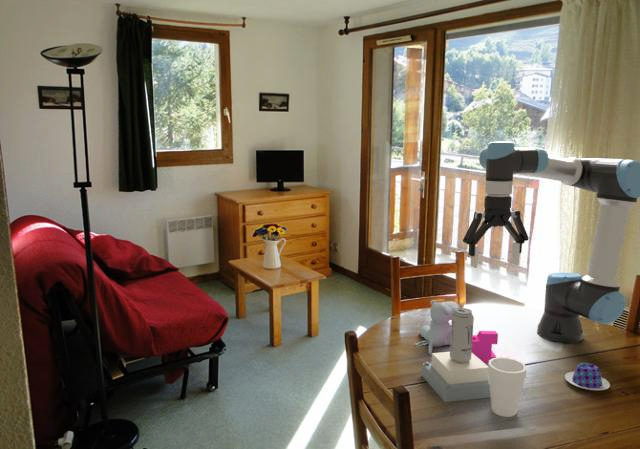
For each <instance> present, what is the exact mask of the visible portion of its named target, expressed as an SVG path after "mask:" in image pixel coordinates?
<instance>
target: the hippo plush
mask: <svg viewBox="0 0 640 449" xmlns="http://www.w3.org/2000/svg"><path fill="white" fill-rule="evenodd" d="M429 304H430V305H431V307H430V308H429V309H430V310H429V314H430V318H431V320H430V323H429V324H427V325H426V324H424V325H422V326H421V328H420V329H419V334H420V336H421V337H422V338H423V337H424V338H423V339H425V340H420V341H418V342H415V343H414V345H415V346H416V345H424V346H426V345H428V354H429V355H432V353H433V347H437V348H440V347H443V346H450V341H451V323H450V322H449V321H452V314H453V313H454V310H455V309H456V308H461V307H460V305H459V304H458V303H456V301H442V302H436V300H435V299H432V300H430V301H429Z"/></svg>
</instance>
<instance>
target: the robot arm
mask: <svg viewBox="0 0 640 449" xmlns="http://www.w3.org/2000/svg"><path fill="white" fill-rule="evenodd" d="M478 161H479V164H480V166H481V167H482V168H483V169H485V183H484V184H485V188H484V189H485V190H484V193H485V194H486V195H485V196H484V206H483V207H484V212H480V211H474V214H473V219H472V220H471V223H470V225H469V227H468V229H467V231H466V232H465V234H464V237H463V239H462V243H465V244H466V245H468V256H470V266H471V267H473V268H477V269H478V258H479V246H478V245H477V244H478V243H479V242H480V240H481V239H482V238H483V237H484V235H485V234H486V233H487V231H488V230H489V229H491V228H492V227H493V228H497V227H504V228H505V230H507V232H508V234H510V236H511V237H512V239H513V240H514V241H512V243H511V244H512V245H511V246H512V247H511V261H510V262H511V264H514V265H516V266H518V265H519V263H520V254H521V253H522V249H523V244H525V243H526V241H527V242H528V240H529V236H528V233H527V230H526V228H525V226H524V223H523V220H522V218H521V216H522V215H521V211H520V210H517V209H512V211H511V208H512V201H513V200H512V199H513V197H512V196H511V195H512V194H513V181H514V175H517V174H518V175H523V176H529V177H534V178H541V179H547V180H553V181H559V182H561V184H563V185H565V186H570V187H574V188H578V189H581V190H584V191H588V192H592V193H596V197H595V199H596V200H597V202H598V203H599V207H598V208H599V209H598V214H597V219H596V225H595V230H594V235H593V239H592V240H593V242H592V246H591V252H590V256H589V263H588V267H587V273H586V274H585V275H582V274H581V273H578V272H577V273H576V272H554V273H550V274H549V275H547V279H546V284H545V293H544V294H545V295H544V296H545V297H544V309H543V313H542V316H541V318H540V321H539V323H538V324H537V329H536V330H537V331H536V332H537V334H539V336H540V337H541V338H545V339H546V340H550V341H553V342H559V343H566V344H567V343H568V344H570V343H571V344H574V343H578V342H582V341H583V338H584V330H583V327H582V322H581V319H580V317H583V318H585V319H588V320H590V321H592V322H594V323H595V322H596V323H598V324H601V325H609V324H612V323H614V322H615V321H617V320H618V319H619V318H620V317H621V316H622V314H623V313H624V311H625V308H626V298H625V295H624V294H622V293H621V292H620V289H621V284H620V283H619V282H618V280H617V276H618V270H619V266H620V261H621V255H622V250H623V245H624V239H625V234H626V230H627V226H628V219H629V214H630V209H631V208H632V207H633V206H634V205H637V201H638V199H639V198H640V161H638V160H633V159H628V158H625V159H624V158H602V157H591V158H590V157H589V158H588V157H587V158H581V157H573V156H572V157H571V156H570V157H568V158H562V157H561V158H560V157H556V156H551V155H549V154H548V152H547V151H546V149H544V148H541V147H535V146H533V147H516V145H515V142H513V141H491V142H489V143H488V144H487V147H484V148H483V149H482V150H481V151H480V153H479V158H478ZM510 218H512V221H513V223H514V226H515V227H514V226H513V224H512V222H511V221H510ZM483 219H484V220H483ZM482 220H483V221H482ZM480 224H481V225H480Z"/></svg>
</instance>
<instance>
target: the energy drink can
mask: <svg viewBox="0 0 640 449" xmlns="http://www.w3.org/2000/svg"><path fill="white" fill-rule="evenodd" d="M474 320H475V318H474V315H473V311H472V310H471V309H469V308H465V307H460V308H456V309H455V310H454V313H453V314H452V320H451V323H450V325H451V341H450V345H449V352H450V358H451V360H452V361H453V362H455V363H459V364H466V363H468V362H469V360H471V354H472V338H473V335H474Z"/></svg>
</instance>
